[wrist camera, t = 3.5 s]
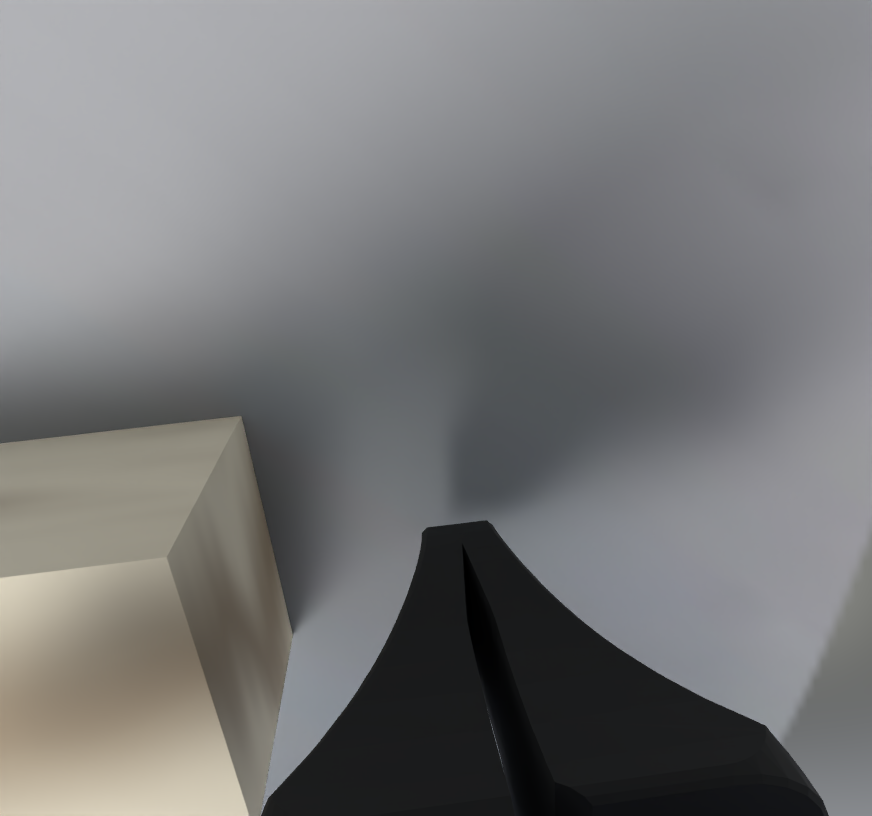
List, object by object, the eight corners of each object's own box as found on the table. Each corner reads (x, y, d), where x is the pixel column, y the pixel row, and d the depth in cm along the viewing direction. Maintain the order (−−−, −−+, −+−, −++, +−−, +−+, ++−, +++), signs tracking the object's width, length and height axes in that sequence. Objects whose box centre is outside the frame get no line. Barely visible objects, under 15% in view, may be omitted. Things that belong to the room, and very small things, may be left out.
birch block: (293, 631, 15) (256, 837, 11) (49, 663, 15) (-97, 888, 10) (242, 413, 13) (166, 556, 8) (-48, 446, 13) (-293, 614, 8)
